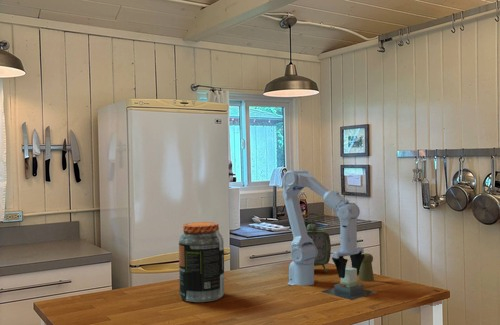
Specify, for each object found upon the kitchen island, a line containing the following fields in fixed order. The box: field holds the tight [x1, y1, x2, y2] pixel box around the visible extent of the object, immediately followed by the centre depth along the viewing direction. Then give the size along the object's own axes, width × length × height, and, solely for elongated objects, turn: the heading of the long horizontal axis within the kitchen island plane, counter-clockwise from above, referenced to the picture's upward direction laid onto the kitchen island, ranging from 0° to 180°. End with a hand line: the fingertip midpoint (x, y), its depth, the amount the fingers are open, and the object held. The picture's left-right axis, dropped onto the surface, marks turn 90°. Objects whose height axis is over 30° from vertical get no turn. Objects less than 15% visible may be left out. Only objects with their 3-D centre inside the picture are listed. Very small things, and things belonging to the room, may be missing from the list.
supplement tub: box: [178, 221, 225, 303], centre depth 174 cm, size 16×16×26 cm
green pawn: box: [358, 252, 375, 282], centre depth 193 cm, size 6×6×11 cm
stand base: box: [320, 282, 378, 301], centre depth 176 cm, size 14×14×4 cm
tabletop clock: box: [302, 212, 332, 273], centre depth 211 cm, size 14×9×25 cm, turn 90°
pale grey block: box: [339, 266, 358, 288], centre depth 176 cm, size 4×4×6 cm
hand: (348, 275), depth 176 cm, fingers open, 7 cm apart
